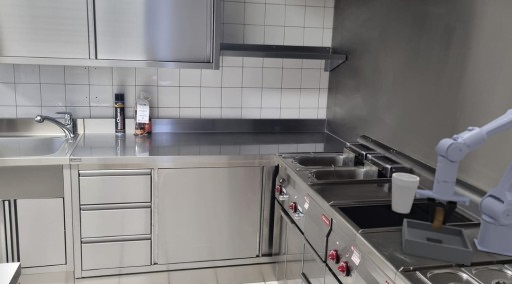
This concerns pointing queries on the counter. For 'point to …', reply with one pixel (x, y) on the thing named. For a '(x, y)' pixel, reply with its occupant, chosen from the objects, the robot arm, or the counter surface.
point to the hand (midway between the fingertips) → (437, 223)
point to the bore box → (436, 242)
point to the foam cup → (403, 191)
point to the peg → (438, 218)
